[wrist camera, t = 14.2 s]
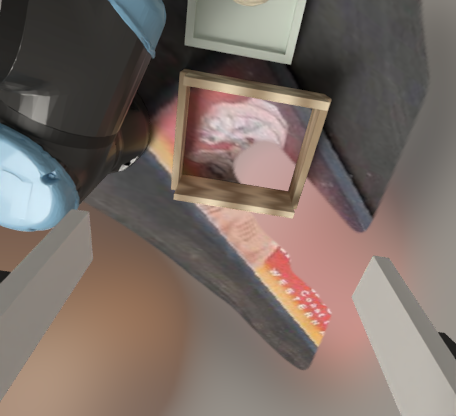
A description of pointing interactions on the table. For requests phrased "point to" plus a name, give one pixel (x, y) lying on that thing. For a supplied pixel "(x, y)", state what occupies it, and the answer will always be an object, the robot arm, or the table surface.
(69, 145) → the robot arm
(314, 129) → the wooden frame
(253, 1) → the character mug
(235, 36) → the tray
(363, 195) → the table surface
